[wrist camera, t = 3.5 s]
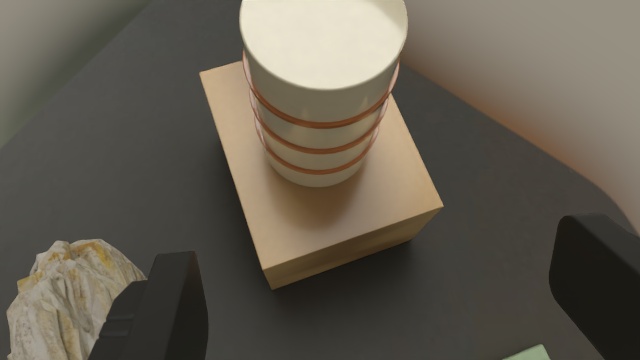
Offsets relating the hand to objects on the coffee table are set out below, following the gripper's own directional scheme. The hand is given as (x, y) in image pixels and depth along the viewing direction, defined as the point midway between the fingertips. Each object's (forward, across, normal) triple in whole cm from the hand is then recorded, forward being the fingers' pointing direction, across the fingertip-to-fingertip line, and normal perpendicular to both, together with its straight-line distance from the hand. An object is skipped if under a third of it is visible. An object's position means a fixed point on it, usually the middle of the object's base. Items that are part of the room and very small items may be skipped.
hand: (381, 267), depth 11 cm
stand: (+22, 0, +8) cm, 23 cm away
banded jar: (+16, 0, +3) cm, 16 cm away
